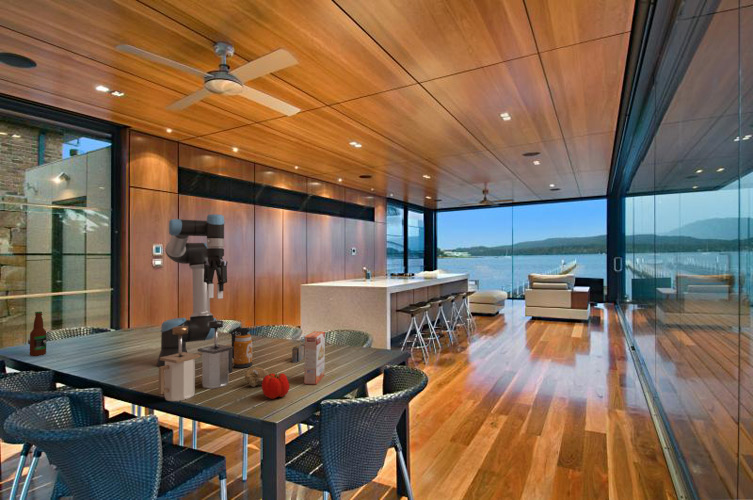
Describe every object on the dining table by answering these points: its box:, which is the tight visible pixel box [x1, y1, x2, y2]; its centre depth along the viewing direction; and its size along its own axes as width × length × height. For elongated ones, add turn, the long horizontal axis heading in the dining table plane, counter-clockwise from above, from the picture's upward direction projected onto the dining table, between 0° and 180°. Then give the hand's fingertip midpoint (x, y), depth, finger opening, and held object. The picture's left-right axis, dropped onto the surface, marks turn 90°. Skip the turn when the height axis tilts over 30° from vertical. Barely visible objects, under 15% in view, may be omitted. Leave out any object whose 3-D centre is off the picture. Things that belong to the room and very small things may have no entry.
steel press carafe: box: [197, 344, 234, 390], centre depth 175 cm, size 10×14×16 cm
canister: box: [230, 326, 253, 369], centre depth 204 cm, size 9×11×20 cm
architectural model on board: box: [291, 343, 305, 364], centre depth 216 cm, size 11×3×10 cm, turn 166°
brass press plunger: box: [173, 326, 188, 357], centre depth 159 cm, size 7×7×16 cm
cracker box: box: [303, 330, 326, 385], centre depth 180 cm, size 14×6×21 cm, turn 172°
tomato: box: [261, 372, 290, 400], centre depth 158 cm, size 11×11×9 cm
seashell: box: [244, 366, 270, 388], centre depth 175 cm, size 14×8×8 cm, turn 168°
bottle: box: [29, 311, 47, 357], centre depth 231 cm, size 7×7×25 cm
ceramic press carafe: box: [158, 352, 201, 402], centre depth 157 cm, size 10×14×16 cm
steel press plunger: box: [209, 319, 224, 349], centre depth 174 cm, size 7×7×16 cm
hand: (215, 298), depth 184 cm, fingers open, 6 cm apart
